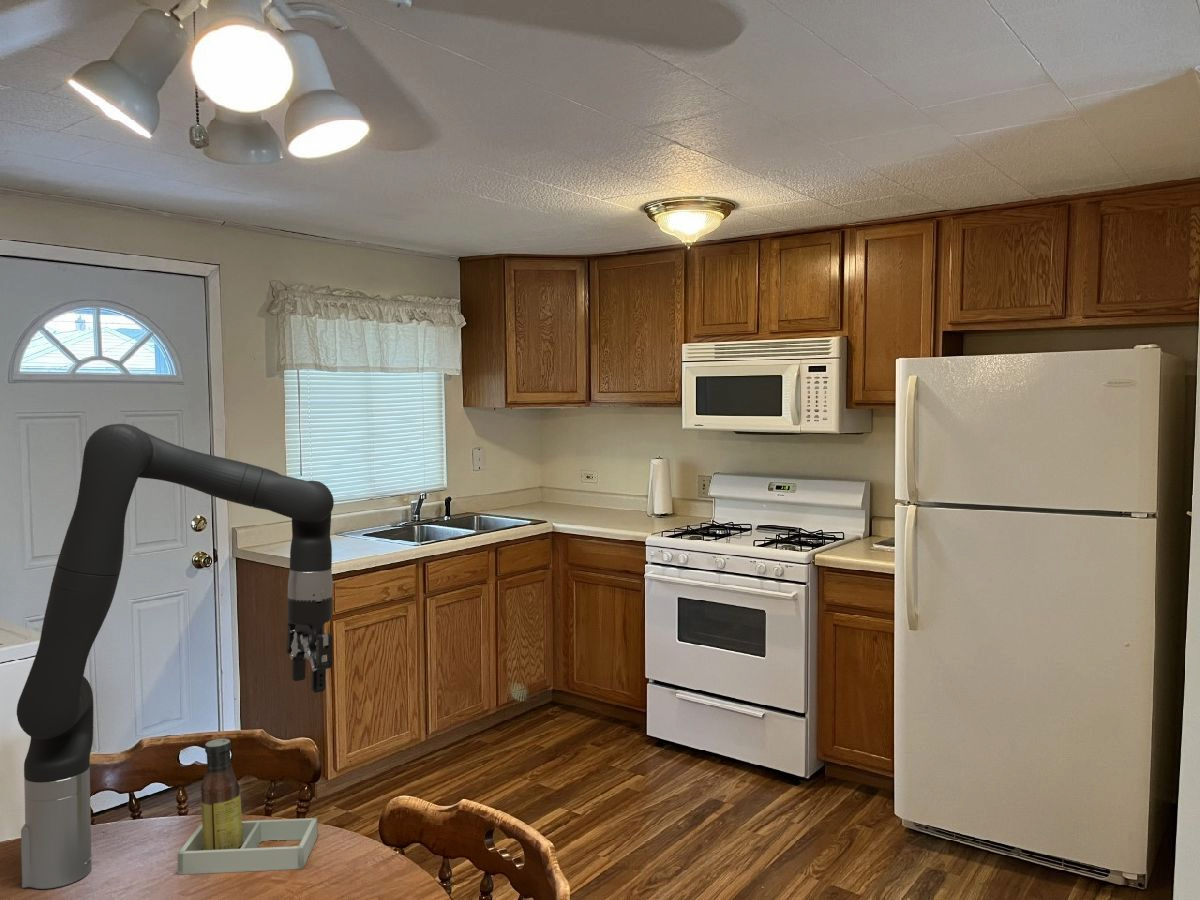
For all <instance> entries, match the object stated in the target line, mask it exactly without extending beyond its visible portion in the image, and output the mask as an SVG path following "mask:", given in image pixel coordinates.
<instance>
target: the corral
mask: <svg viewBox="0 0 1200 900" xmlns="http://www.w3.org/2000/svg"><path fill="white" fill-rule="evenodd" d="M318 821H319V819H318V817H310V818H309V817H308V818H284V819H281V818H280V819H261V820H260V819H259V820H257V819H256V820H242V834H243V843H242V847H241V848H240V849H223V850H204V847H203V829H202V822H201V823H200V824H199V825H198V827H197V828H196V829H195V831H193V833H192V835H191V836H190V837H189V838H188V839H187V841H186V842H185V844H184V845H183V846H182V847H181V849H180V850H179V851H178V853H177V875H178V876H179V875H200V874H218V873H219V874H222V873H223V874H224V873H245V872H263V871H265V872H266V871H267V872H268V871H283V870H284V871H285V870H287V871H288V870H303V869H304V867H305V865H306V863H307V861H308V859H309V857H308V856H310V855H309V854H311V853H310V852H312V850H313V848H314V846H315V844H316V842H317V840H316V839H318V838H317V837H319V835H318V830H319V828H318V825H319V824H318ZM264 840H265V842H267V841H266V840H278V841H277V842H280V841H279V840H287V841H300V843H299V845H297V846H296V845H292V846H275V847H273V846H272V847H271V846H270V847H269V846H268V847H259V845H260V844H261V842H260V841H264ZM315 841H316V842H315ZM259 843H260V844H259ZM314 843H315V844H314ZM202 849H203V850H202Z"/></svg>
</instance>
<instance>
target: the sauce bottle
mask: <svg viewBox="0 0 1200 900" xmlns="http://www.w3.org/2000/svg"><path fill="white" fill-rule="evenodd" d="M231 744H232V743H231V740H230V739H229V738H216V739H213V740H210V741H207V742H206V743H205V745H204V747H205V748H204V749H205V753H206V772H205V774H204V776H203V779H202V781H201V785H200V793H201V799H200V803H201V804H200V805H201V823H202V829H203V850H223V849H240V848H241V847H242V845H243V843H244V842H243V834H242V821H243V820H242V818H243V817H242V816H243V815H242V802H241V787H240V784H239V783H238V782H239V781H238V779H237V777H236V774H235V771H234V769H233V766H232V762H231V761H232V760H231V749H232V745H231Z"/></svg>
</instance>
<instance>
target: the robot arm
mask: <svg viewBox="0 0 1200 900" xmlns="http://www.w3.org/2000/svg"><path fill="white" fill-rule="evenodd" d="M138 478H139V479H151V480H157V481H164V482H168V483H173V484H177V485H180V486H184V487H187V488H190V489H193V490H196V491H199V492H201V493H204V494H207V495H209V496H211V497H215V498H218V499H220V500H223V501H228V502H231V503H233V504H239V505H242V506H247V507H251V508H255V509H261V510H266V511H270V512H272V513H275V514H277V515H282V516H284V517H287V518H291V532H292V533H291V534H292V536H291V543H290V553H289V558H290V559H289V572H288V573H289V575H288V580H287V608H286V609H287V613H286V616H287V617H286V618H287V629H286V630H287V634H286V635H287V636H286V650H285V651H286V654H287V655H289V657H290V659H291V660H292V661H291V662H292V663H291V664H292V665H291V679H292V681H294V682H299V681H300V682H301V681H304V680H305V679H306V662H307V661H306V660H308V661H309V662H310V666H311V683H310V684H311V687H310V688H311V692H312V693H315V694H316V693H317V694H318V693H323V692H324V691H325V690H326V670H329V669H332V668H333V666H334V665H333V664H334V663H333V634H332V633H331V632H329V633H325V631H324V625H325V624H326V623H328V622H330V621H331V620H332V619H333V591H334V590H333V583H334V581H333V580H334V579H333V573H332V572H333V571H332V568H333V567H332V566H333V563H332V561H333V554H332V553H333V547H332V539H331V526H332V525H331V524H332V511H333V509H334V504H335V503H334V501H335V499H334V496H333V494H332V492H331V490H330V488H329V487H328V486H327V485H326V484H324V483H323V482H321V481H317V480H304V479H301V478H300V479H299V478H296V477H291V476H287V475H284V474H280V473H279V472H277V471H274V470H272V469H269V468H266V467H261V466H258V465H255V464H250V463H248V462H243V461H239V460H235V459H231V458H227V457H221V456H216V455H214V454H213V455H212V454H209V453H204V452H200V451H197V450H193V449H189V448H185V447H182V446H180V445H178V444H177V445H176V444H174V443H171V442H169V441H166V440H164V439H162V438H159V437H157V436H154V435H152V434H150V433H148V432H146V431H144V430H142V429H140V428H139V427H137V426H135V425H132V424H129V423H128V424H127V423H114V424H113V423H111V424H108V425H104V426H102V427H100V428H98V429H97V430H95V431H93V433H91V435H90V436H89V437H88V439H87V441H86V443H85V445H84V451H83V457H82V465H81V474H80V479H79V487H78V493H77V499H76V503H75V508H74V510H73V514H72V516H71V519H70V521H69V524H68V528H67V529H66V534H65V536H64V539H63V542H62V545H61V549H60V553H59V555H58V558H57V562H56V566H55V569H54V574H53V577H52V581H51V585H50V590H49V594H48V599H47V603H46V607H45V612H44V617H43V622H42V626H41V627H42V628H41V633H40V639H39V641H38V643H39V644H38V646H37V647H38V648H37V651H36V654H35V657H34V660H33V661H32V662H33V663H32V665H31V668H30V671H29V673H28V676H27V678H26V681H25V683H24V686H23V688H22V691H21V693H20V696H19V698H18V702H17V706H16V716H17V721H18V725H19V726H20V728H21V729H22V731H23V732H24V733H25V734H26V735H28V736H29V737H30V742H29V747H28V750H27V753H26V757H25V759H24V763H23V777H24V778H23V779H24V780H23V781H24V785H23V786H24V789H23V790H24V822H25V823H24V824H23V826H22V828H21V829H20V843H21V844H20V849H21V850H20V851H21V856H20V857H21V888H22V889H23V888H33V889H40V890H41V889H42V890H43V889H45V890H47V889H54V888H59V887H63V886H67V885H70V884H72V883H75V882H78V881H79V880H82V879H83V878H85V877H87V875H88V874H90V872H91V870H92V866H93V865H92V859H93V858H92V857H93V855H92V821H91V820H92V817H91V815H92V814H91V773H90V772H91V771H90V769H91V768H90V766H91V765H90V763H91V760H90V759H91V758H90V757H91V752H92V747H93V741H94V694H93V688H92V685H91V684H90V682H89V680H88V679H87V678H86V677H85V675H84V674H85V670H86V666H87V662H88V658H89V655H90V651H91V649H92V647H93V645H94V642H95V641H96V638H97V637H98V635H99V632H100V630H101V628H102V626H103V624H104V622H105V619H106V617H107V615H108V613H109V610H110V608H111V605H112V603H113V600H114V598H115V594H116V590H117V587H118V583H119V579H120V575H121V570H122V564H123V557H124V548H125V524H126V517H127V510H128V507H129V503H130V500H131V498H132V496H133V495H132V494H133V492H134V489H135V486H136V484H137V481H138Z"/></svg>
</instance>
